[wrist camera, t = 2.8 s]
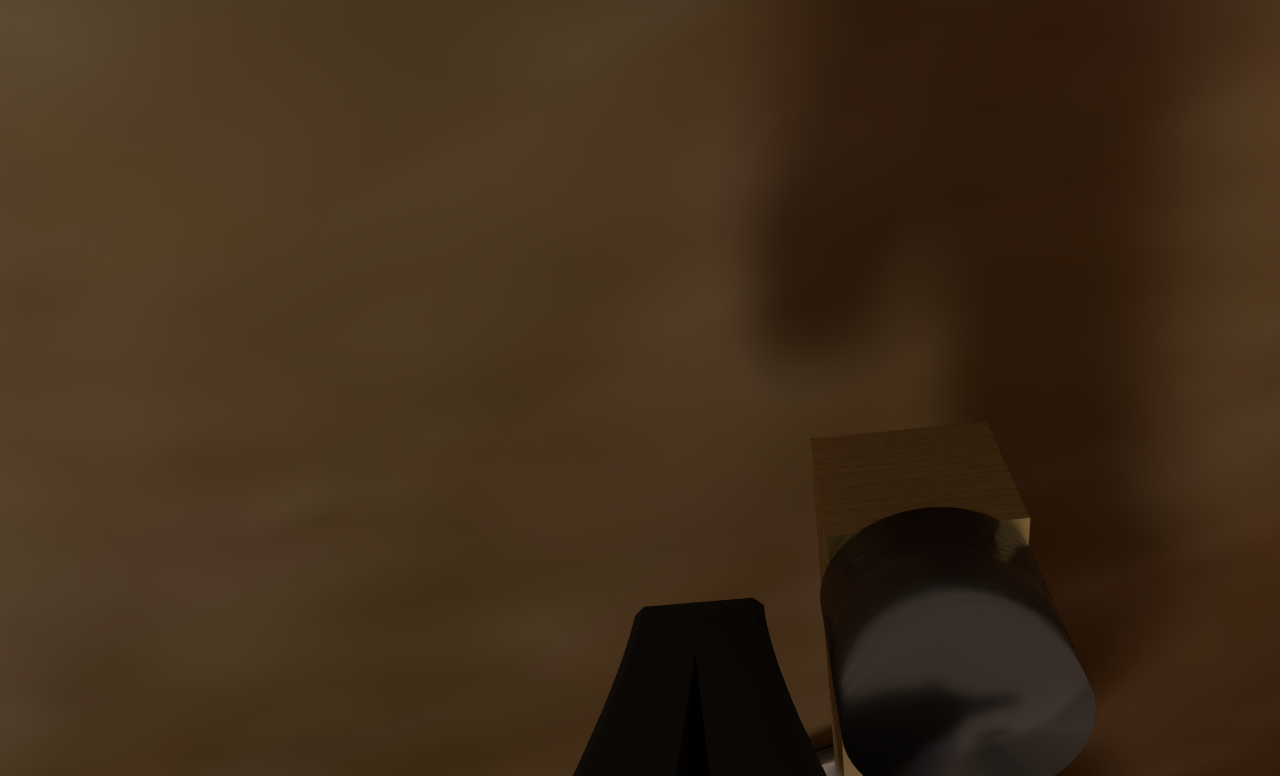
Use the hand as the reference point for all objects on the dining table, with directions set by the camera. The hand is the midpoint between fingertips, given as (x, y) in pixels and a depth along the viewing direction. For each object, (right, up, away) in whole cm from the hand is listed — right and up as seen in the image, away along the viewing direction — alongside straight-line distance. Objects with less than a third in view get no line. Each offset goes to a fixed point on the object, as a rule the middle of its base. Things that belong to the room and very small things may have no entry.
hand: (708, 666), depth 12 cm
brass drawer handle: (+2, -2, +1) cm, 3 cm away
